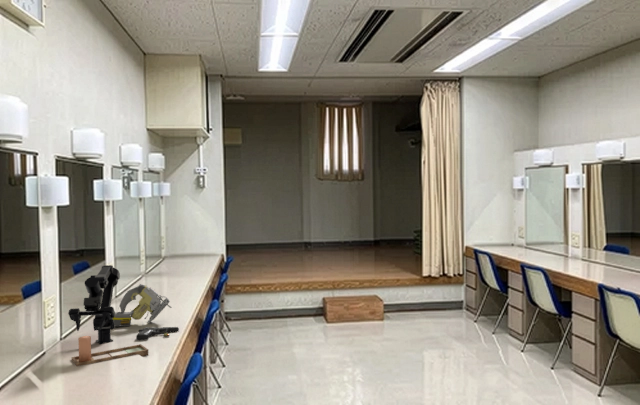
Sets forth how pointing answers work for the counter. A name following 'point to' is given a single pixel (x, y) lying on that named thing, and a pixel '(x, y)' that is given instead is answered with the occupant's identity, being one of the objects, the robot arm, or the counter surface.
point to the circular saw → (140, 305)
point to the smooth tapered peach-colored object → (84, 348)
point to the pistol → (154, 332)
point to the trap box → (130, 351)
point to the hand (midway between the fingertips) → (88, 329)
